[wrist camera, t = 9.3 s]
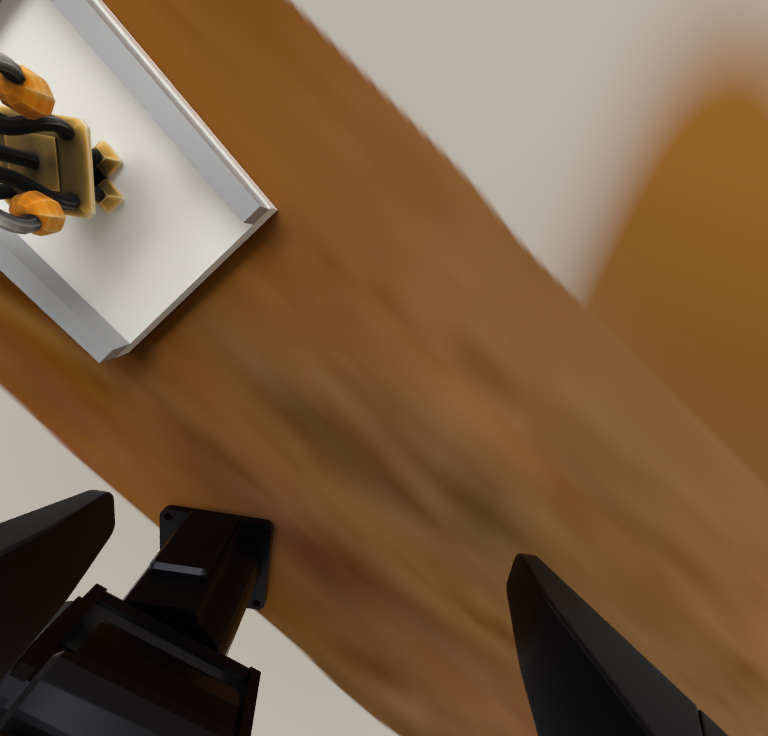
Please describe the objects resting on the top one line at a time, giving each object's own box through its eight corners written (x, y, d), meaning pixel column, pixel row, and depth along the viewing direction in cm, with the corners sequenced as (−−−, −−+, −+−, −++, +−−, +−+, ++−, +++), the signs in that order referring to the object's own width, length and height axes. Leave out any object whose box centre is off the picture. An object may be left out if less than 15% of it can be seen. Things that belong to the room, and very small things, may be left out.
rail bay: (277, 210, 18) (261, 204, 16) (129, 352, 20) (97, 364, 18) (47, -66, 15) (-10, -118, 13) (-97, 134, 17) (-165, 118, 15)
